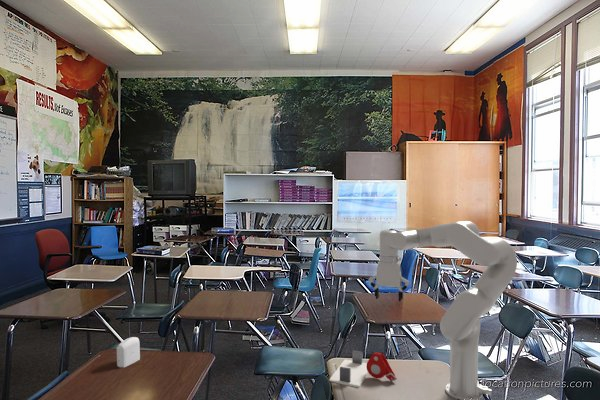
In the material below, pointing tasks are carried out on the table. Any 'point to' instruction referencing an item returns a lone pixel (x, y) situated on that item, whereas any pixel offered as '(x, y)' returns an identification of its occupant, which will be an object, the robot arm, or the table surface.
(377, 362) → the red curved piece
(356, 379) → the board
